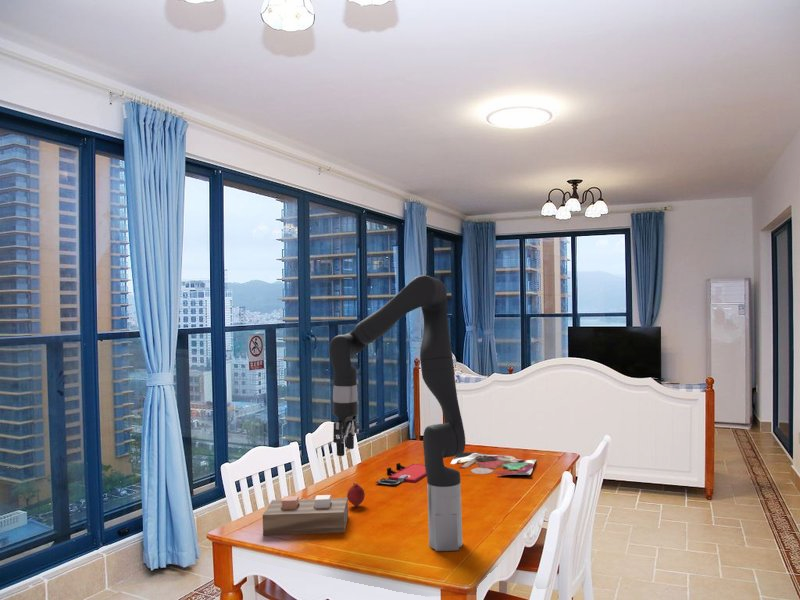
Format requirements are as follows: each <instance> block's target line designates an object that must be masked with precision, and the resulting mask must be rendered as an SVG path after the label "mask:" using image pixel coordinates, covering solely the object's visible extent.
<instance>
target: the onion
mask: <svg viewBox="0 0 800 600" xmlns="http://www.w3.org/2000/svg"><path fill="white" fill-rule="evenodd" d="M365 494H366V493H365V490H364V489H363V488H362V487H361V485H359V484H358V483H357V482H354V483H353V485H352V486H350V488H349V489H348V490H347V494H346V496H347V497H346V498H348V503H350V504H351V505H353V506H354V508H355V507H356V508H357V507H359V505H361V504H362V503H363V502H364V500H365V496H366V495H365Z"/></svg>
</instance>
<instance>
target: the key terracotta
mask: <svg viewBox="0 0 800 600" xmlns="http://www.w3.org/2000/svg"><path fill="white" fill-rule="evenodd" d="M299 499H300V498H299V495H290V496H289V495H287V496H285V495H283V498H282V499H281V500H282V509H298V507H299Z"/></svg>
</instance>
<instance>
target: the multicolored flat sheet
mask: <svg viewBox="0 0 800 600" xmlns="http://www.w3.org/2000/svg"><path fill="white" fill-rule="evenodd" d="M536 462H537V459H520V458H518V457H514V456H512V455H504V454H485V453H480V452H475V451H473V452H472V451H471V452H468V451H467V452H463V453H462V454H461V455H458V456H454V457H453V459H452V460H451V462H450V465H460V466H458V469H468V468H470V467H472V466H473V465H475V464H476V466H477V467H475V468H472V469H471V470H469V472H470V473H471V474H472V475H471V474H468V476H471V477H473V474H475V475H491V474H493V475H497V476H496V478H497V477H504V476H509V475H510V476H511V475H517V476H518V475H519V476H521V475H524V476H525V475H527V476H530V475H531V474H532V473H533V469H534V467H535V463H536ZM499 468H502V470H496V469H499Z"/></svg>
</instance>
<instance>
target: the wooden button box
mask: <svg viewBox="0 0 800 600" xmlns="http://www.w3.org/2000/svg"><path fill="white" fill-rule="evenodd" d="M348 518H349V500H348V498H347V497H334V498H333V497H331V508H315V498H302V499H301V498H299V507H298V509H282V499H272V500H271V501H270V503H269V504H268V506H267V507H266V509H265V510H264V512H263V514H262V535H263V536H282V535H285V536H287V535H309V534H311V535H313V534H316V535H317V534H341V533H343V534H344V533H345V531H346V527H347V523H348Z"/></svg>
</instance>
